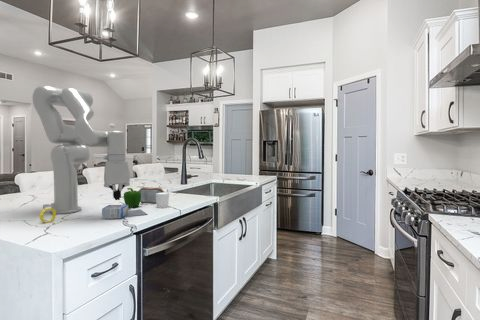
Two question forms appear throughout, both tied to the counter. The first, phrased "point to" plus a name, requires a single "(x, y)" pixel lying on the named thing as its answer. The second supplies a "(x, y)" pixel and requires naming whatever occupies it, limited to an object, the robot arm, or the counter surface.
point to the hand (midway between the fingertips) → (117, 199)
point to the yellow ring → (43, 213)
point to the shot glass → (162, 199)
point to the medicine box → (114, 211)
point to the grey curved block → (149, 194)
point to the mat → (134, 213)
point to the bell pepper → (132, 198)
